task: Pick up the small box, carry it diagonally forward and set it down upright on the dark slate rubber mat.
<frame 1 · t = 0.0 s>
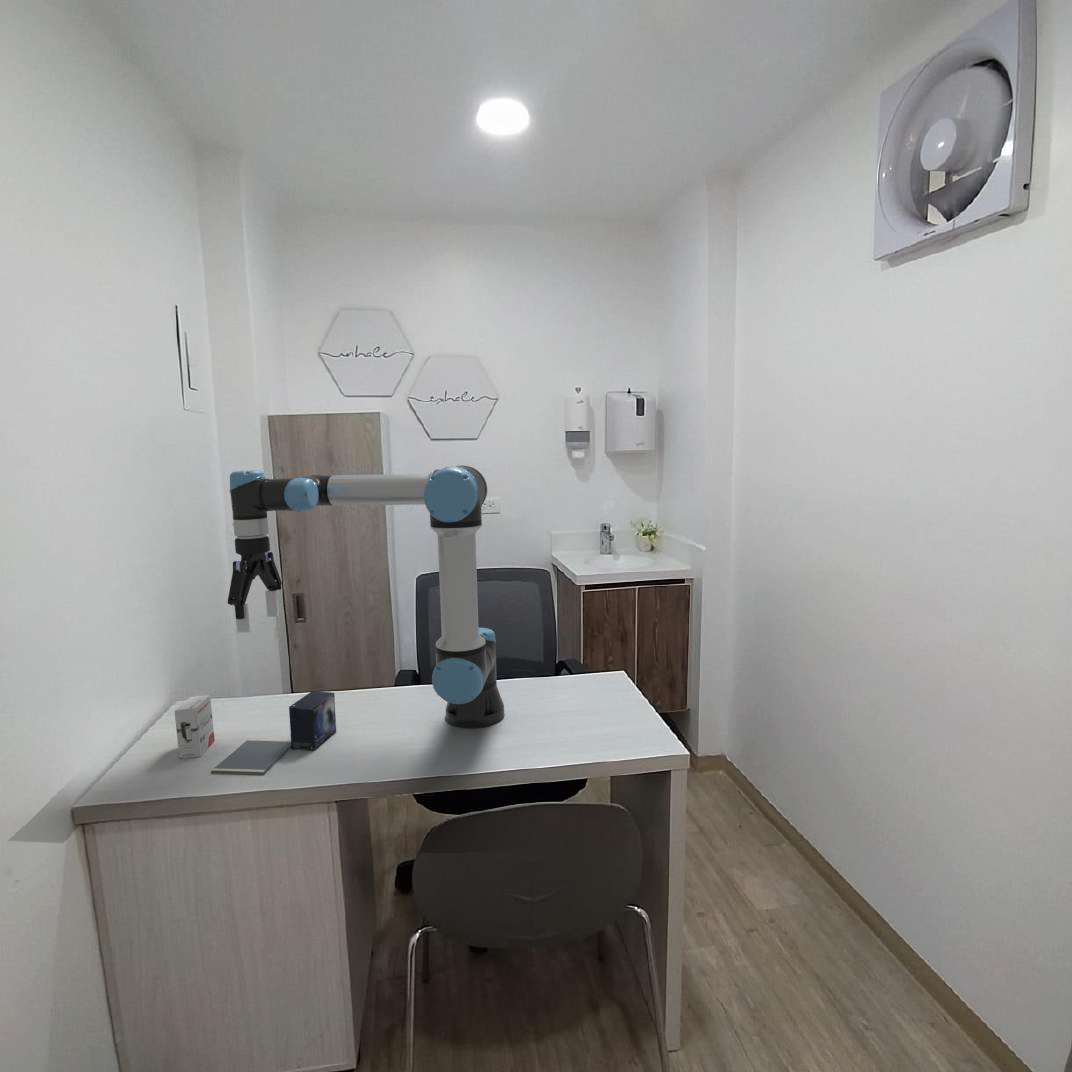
hand: (259, 624, 154), 28 cm above the table, fingers open, 13 cm apart
ink box: (197, 750, 151), on the table
small box: (315, 741, 154), on the table
mat: (255, 757, 146), on the table
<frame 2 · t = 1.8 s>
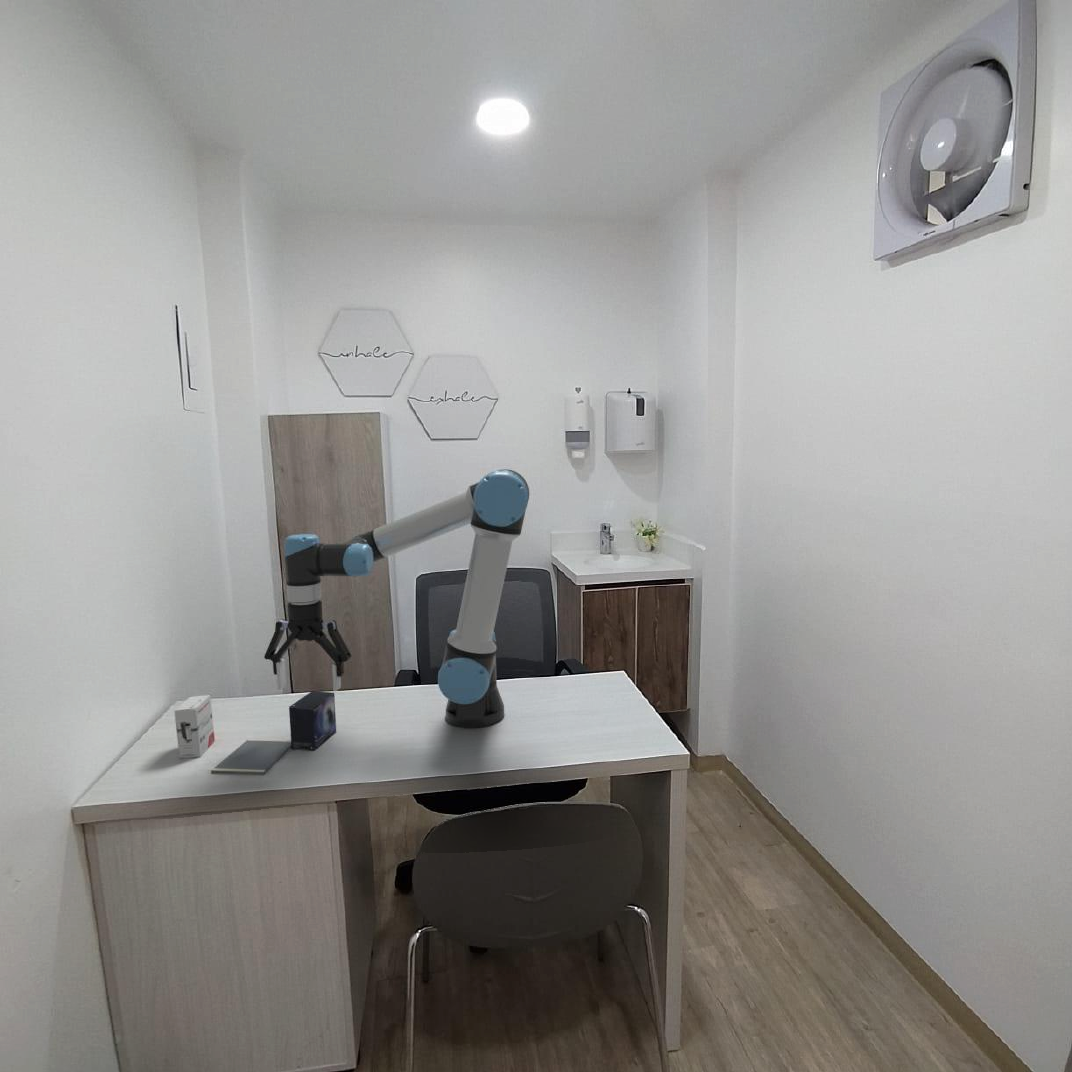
hand: (309, 688, 152), 13 cm above the table, fingers open, 13 cm apart
nothing on the table moved.
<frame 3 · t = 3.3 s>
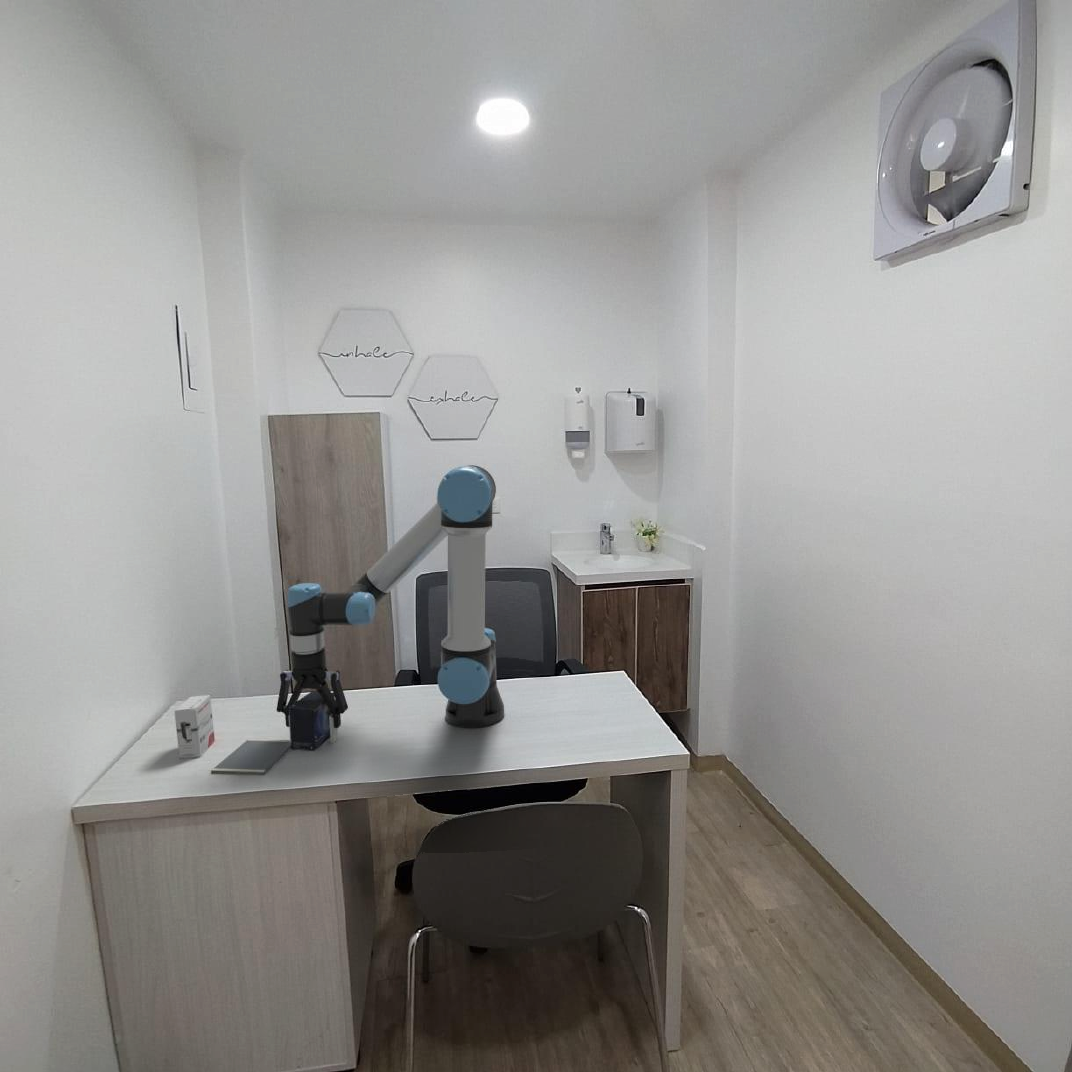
hand: (314, 739, 154), 0 cm above the table, fingers open, 9 cm apart
nothing on the table moved.
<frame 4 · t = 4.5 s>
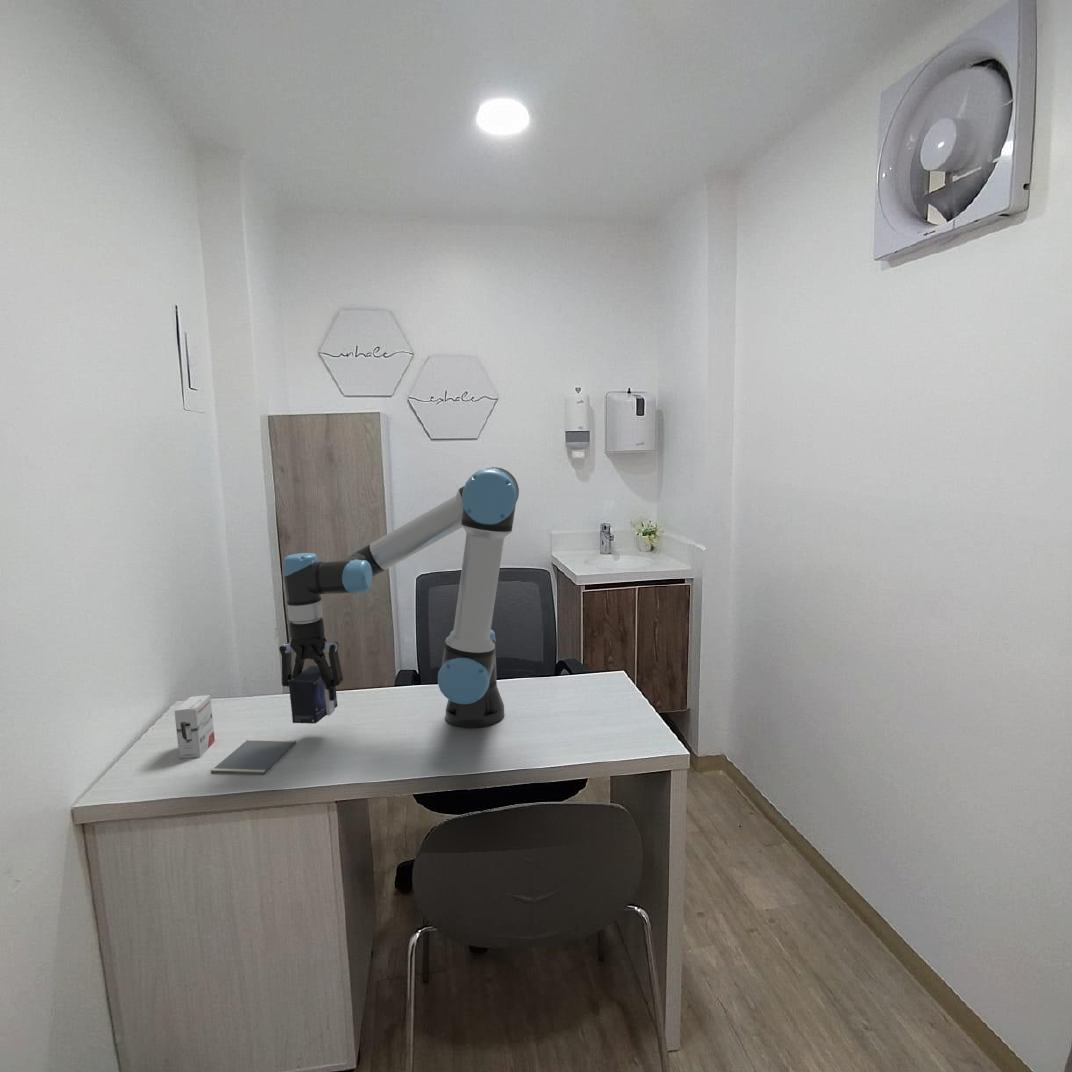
hand: (315, 713, 153), 7 cm above the table, fingers closed on small box, 7 cm apart
small box: (316, 715, 153), point 6 cm above the table, touching gripper
everything else where it was.
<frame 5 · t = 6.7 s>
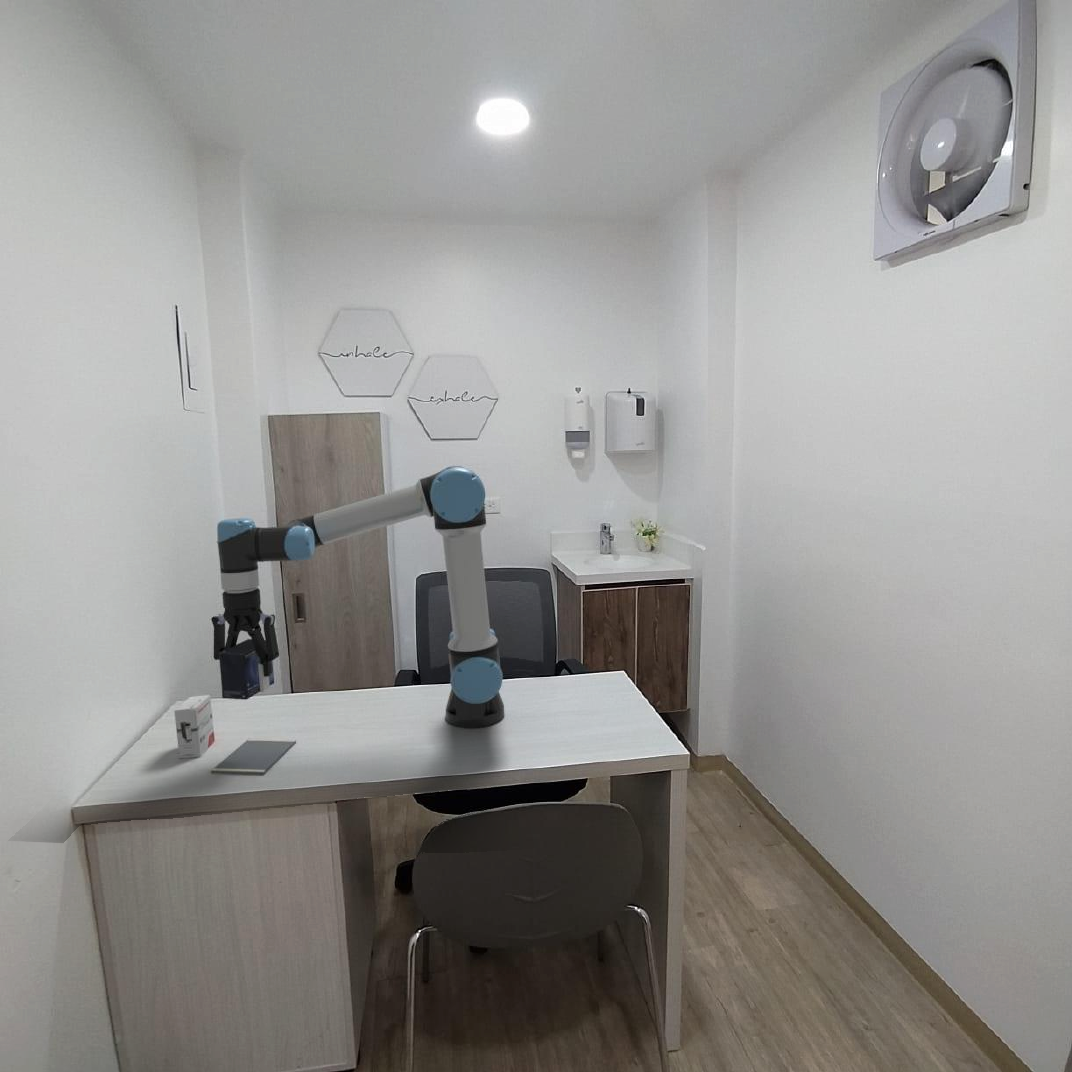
hand: (249, 689, 144), 16 cm above the table, fingers closed on small box, 7 cm apart
small box: (249, 691, 144), point 16 cm above the table, touching gripper
everything else where it was.
when the fingers open (2 cm above the table, at t = 9.0 s): small box stays where it is, resting on mat.
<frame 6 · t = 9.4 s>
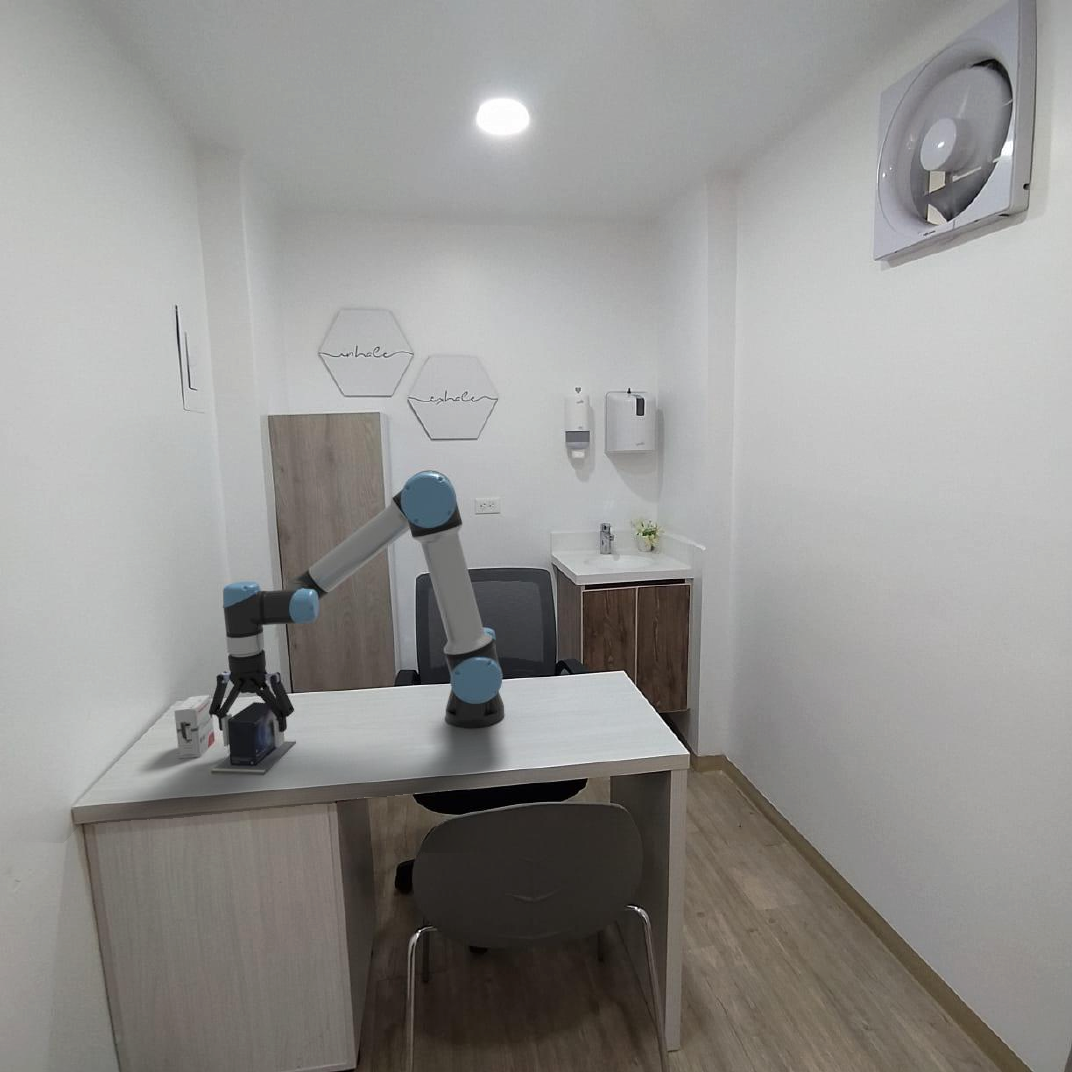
hand: (254, 744, 146), 3 cm above the table, fingers open, 11 cm apart
small box: (256, 755, 146), resting on mat
everything else where it was.
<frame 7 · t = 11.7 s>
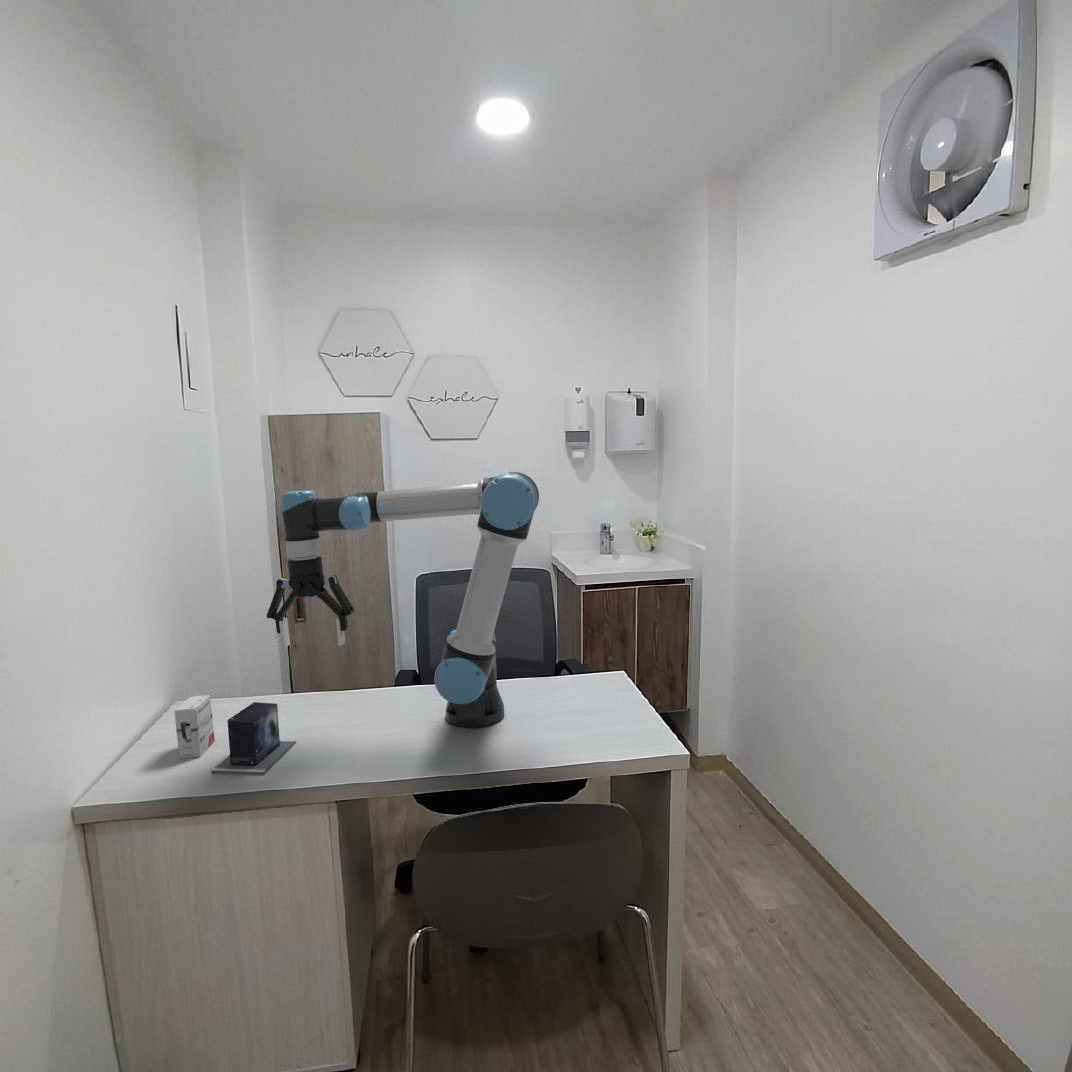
hand: (314, 645, 153), 23 cm above the table, fingers open, 13 cm apart
nothing on the table moved.
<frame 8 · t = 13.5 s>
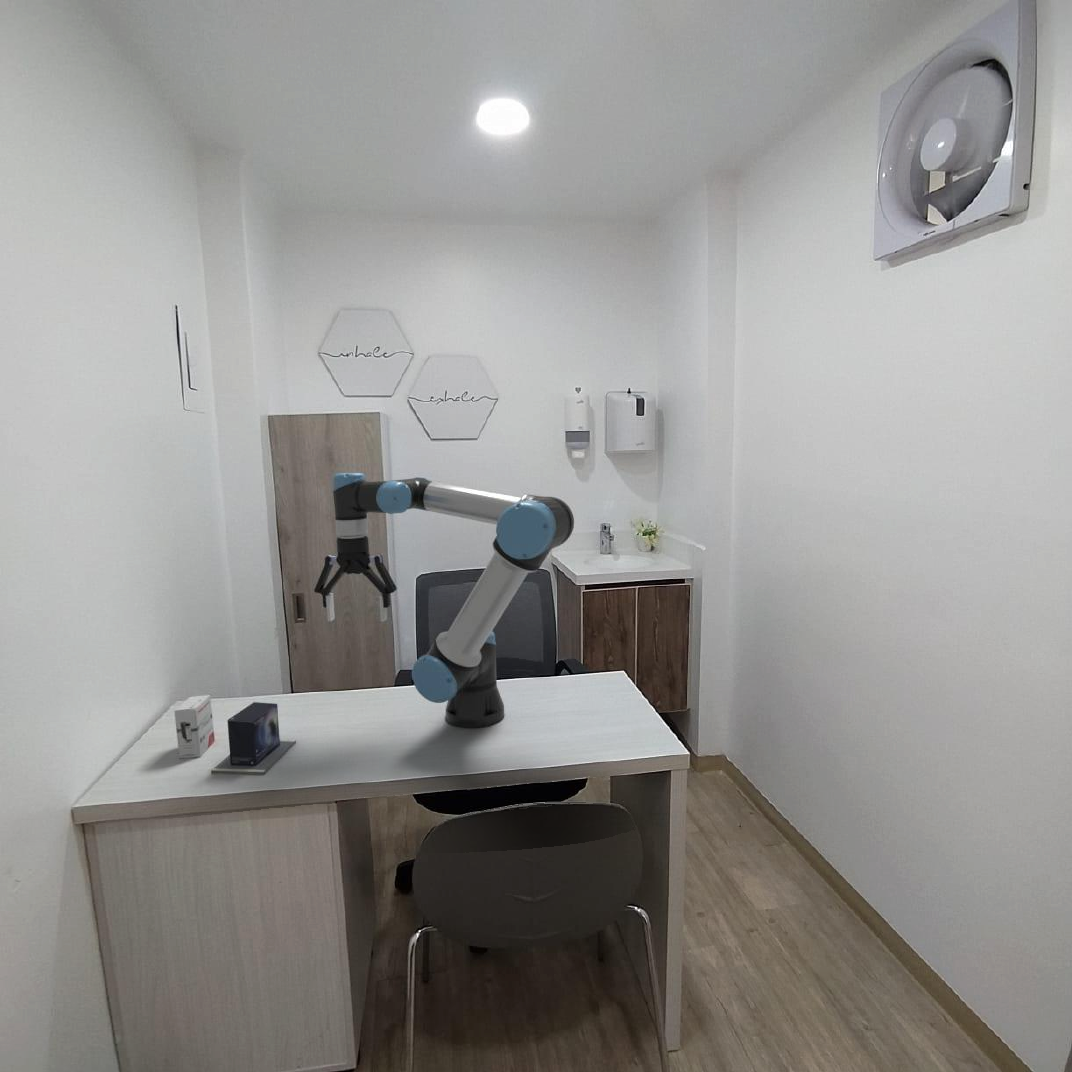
hand: (357, 620, 160), 27 cm above the table, fingers open, 13 cm apart
nothing on the table moved.
at the end: small box inside the target area on the mat (0.3 cm from its centre), point 0.4 cm above the mat's base; small box tilted 0°; the gripper is holding nothing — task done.
